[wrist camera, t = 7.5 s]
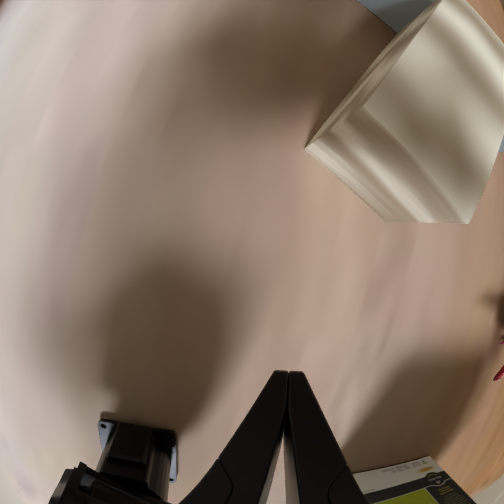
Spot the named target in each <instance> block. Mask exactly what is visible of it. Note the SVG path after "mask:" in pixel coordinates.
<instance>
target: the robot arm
mask: <svg viewBox="0 0 504 504" xmlns="http://www.w3.org/2000/svg"><path fill="white" fill-rule="evenodd" d="M103 424H105V425H106V426H104V425H103ZM98 429H99V435H100V441H101V447H102V455H101V457H100V460H99V462H98V465H97V468H96V470H93V469H91V468H89V467H87V465H86V464H84V463H82V462H81V461H80V463H79V465H78V468H76V467H74V469H65V471H64V474H63V476H62V478H61V480H60V482H59V484H58V486H57V487H56V489H55V491H54V493H53V494H52V496H51V498H50V501H49V503H48V504H171V503H168V502H167V499H168V488H169V483H175V482H176V479H177V470H176V433H175V432H174V431H171V430H165V429H157V428H150V427H144V426H138V425H132V424H127V423H121V422H116V421H111V420H107V419H100V420H99V422H98ZM283 432H284V437H283ZM168 435H170V436H172V437H169V436H168ZM282 439H284V464H285V486H286V504H369V502H368V500H367V499H366V497H365V496H364V494H363V493H362V491H361V489H360V487H359V486H358V484H357V482H356V480H355V478H354V476H353V474H352V472H351V470H350V468H349V466H348V465H347V462H346V460H345V458H344V456H343V454H342V451H341V449H340V447H339V445H338V443H337V441H336V439H335V437H334V435H333V433H332V431H331V429H330V426H329V424H328V422H327V420H326V418H325V416H324V414H323V412H322V410H321V408H320V405H319V403H318V401H317V399H316V397H315V395H314V393H313V391H312V389H311V387H310V384H309V382H308V380H307V378H306V376H305V374H304V373H303V372H302V371H290V372H289V373H288V371H283V370H275V371H274V372H273V373H272V375H271V377H270V378H269V380H268V382H267V383H266V385H265V387H264V388H263V390H262V391H261V393H260V395H259V396H258V398H257V399H256V401H255V403H254V404H253V406H252V407H251V409H250V411H249V412H248V414H247V415H246V417H245V418H244V420H243V421H242V423H241V424H240V426H239V427H238V429H237V431H236V432H235V434H234V435H233V437H232V438H231V439H230V441H229V442H228V444H227V445H226V447H225V448H224V450H223V451H222V453H221V454H220V456H219V457H218V459H217V460H216V461H215V462H214V464H213V465H212V467H211V468H210V469H209V471H208V472H207V473H206V475H205V476H204V477H203V478H202V480H201V481H200V482H199V483H198V484H197V486H196V487H195V488H194V489H193V490H192V491H191V492H190V493H189V494H188V495H187V496H186V497H185V498H184V499H183V500H182V501H181V502H180V503H179V504H266V502H267V498H268V495H269V491H270V487H271V484H272V480H273V476H274V472H275V468H276V464H277V460H278V456H279V452H280V448H281V444H282ZM346 465H347V466H346Z"/></svg>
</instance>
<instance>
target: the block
mask: <svg viewBox="0 0 504 504" xmlns="http://www.w3.org/2000/svg"><path fill="white" fill-rule="evenodd" d="M503 135H504V44H503V43H502V41H501V40H500V39H499V37H498V36H497V35H496V34H495V33H494V31H493V30H492V29H491V28H490V27H489V25H488V24H487V23H486V22H485V21H484V20H483V19H482V17H481V16H480V15H479V14H478V13H477V12H476V11H475V10H474V9H473V8H472V7H471V6H470V4H469V3H468V2H467V1H466V0H435V1H434V2H433V3H432V4H431V5H429V6H428V7H427V8H426V9H425V10H423V11H422V12H421V13H420V14H419V15H418V16H416V17H415V18H414V19H413V20H412V21H411V22H409V23H408V24H407V25H406V26H405V27H404V28H403V29H401V30H400V31H399V32H398V33H397V34H396V35H395V36H394V37H393V39H392V40H391V41H390V42H389V44H388V45H387V46H386V47H385V48H384V50H383V51H382V52H381V53H380V54H379V56H378V57H377V58H376V59H375V61H374V62H373V63H372V64H371V65H370V67H369V68H368V69H367V70H366V72H365V73H364V74H363V75H362V77H361V78H360V79H359V80H358V82H357V83H356V84H355V85H354V86H353V88H352V89H351V90H350V91H349V93H348V94H347V95H346V96H345V98H344V99H343V100H342V101H341V103H340V104H339V105H338V106H337V108H336V109H335V110H334V112H333V113H332V114H331V115H330V117H329V118H328V119H327V120H326V122H325V123H324V124H323V125H322V127H321V128H320V129H319V130H318V132H317V133H316V134H315V136H314V137H313V138H312V139H311V141H310V142H309V143H308V145H307V146H306V147H305V148H304V150H306V151H307V152H308V153H309V154H310V155H312V156H313V157H314V158H315V159H316V160H318V161H319V162H320V163H321V164H322V165H324V166H325V167H326V168H327V169H328V170H329V171H331V172H332V173H333V174H334V175H335V176H336V177H337V178H339V179H340V180H341V181H342V182H343V183H344V184H345V185H346V186H348V187H349V188H350V189H351V190H352V191H353V192H354V193H355V194H356V195H357V196H359V197H360V198H361V199H362V200H363V201H364V202H365V203H366V204H367V205H368V206H369V207H370V208H371V209H372V210H373V211H374V212H376V213H377V214H378V215H379V216H380V217H381V218H382V219H383V220H384V221H398V222H433V223H459V224H469V222H470V220H471V218H472V216H473V214H474V211H475V209H476V207H477V205H478V202H479V200H480V198H481V195H482V193H483V191H484V188H485V186H486V183H487V181H488V178H489V176H490V173H491V170H492V168H493V165H494V162H495V159H496V157H497V154H498V151H499V148H500V145H501V142H502V139H503Z"/></svg>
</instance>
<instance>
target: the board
mask: <svg viewBox="0 0 504 504" xmlns="http://www.w3.org/2000/svg"><path fill="white" fill-rule="evenodd" d="M356 1H358V2H359V3H361V4H362V5H363V6H365V7H366V8H367V9H368V10H370V11H371V12H372V13H374V14H375V15H376V16H377V17H379V18H380V19H381V20H382V21H384V22H385V23H386V24H387V25H388V26H389V27H391V28H392V29H393V30H394V31H395V32H396V33H398V32H399V31H400V30H401V29H403V28H404V27H405V26H406V25H407V24H408V23H409V22H411V21H412V20H413V19H414V18H415V17H416V16H418V15H419V14H420V13H421V12H422V11H423V10H425V9H426V8H427V7H428V6H429V5H431V4H432V3H433V2H434V1H435V0H356ZM499 152H504V135H503V139H502V142H501V145H500V148H499Z"/></svg>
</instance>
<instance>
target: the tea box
mask: <svg viewBox="0 0 504 504" xmlns="http://www.w3.org/2000/svg"><path fill="white" fill-rule="evenodd" d="M353 476H354V478H355V480H356V482H357V484H358V486H359V487H360V489H361V491H362V493H363V494H364V496H365V497H366V499H367V500H368V502H369V504H476V503H475V502H474V501H473V500H472V499H471V498H470V497H469V496H468V495H467V494H466V493H465V492H464V490H463V489H462V488H461V487H460V486H459V485H458V484H457V483H456V482H455V481H454V480H453V479H452V478H451V477H450V476H449V475H448V474H447V473H446V472H445V471H444V470H443V469H442V468H441V467H440V466H439V465H438V464H437V463H436V462H435V461H434V460H433V459H432V458H431V457H430V456H428V457H424V458H421V459H418V460H414V461H410V462H407V463H403V464H399V465H394V466H390V467H386V468H381V469H376V470H371V471H366V472H361V473H355V474H353Z"/></svg>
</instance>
